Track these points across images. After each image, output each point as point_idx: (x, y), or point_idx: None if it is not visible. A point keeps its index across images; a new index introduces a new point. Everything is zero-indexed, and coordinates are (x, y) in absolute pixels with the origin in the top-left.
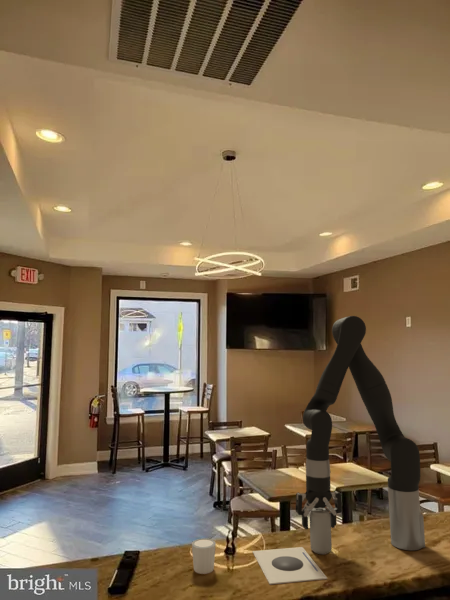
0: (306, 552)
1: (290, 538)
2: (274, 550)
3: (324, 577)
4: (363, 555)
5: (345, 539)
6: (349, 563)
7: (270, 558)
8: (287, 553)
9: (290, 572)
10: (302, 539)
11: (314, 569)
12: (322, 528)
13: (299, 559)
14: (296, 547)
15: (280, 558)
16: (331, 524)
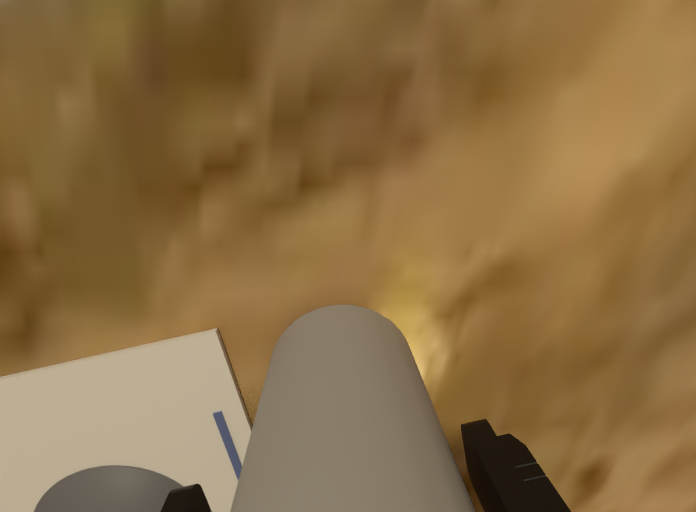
0: (240, 407)
1: (122, 157)
2: (20, 393)
3: None
4: (581, 404)
5: (562, 165)
6: (468, 493)
7: (15, 492)
8: (115, 428)
9: None
10: (223, 175)
11: None
12: None
13: None
14: (173, 341)
15: (77, 494)
16: (476, 480)
